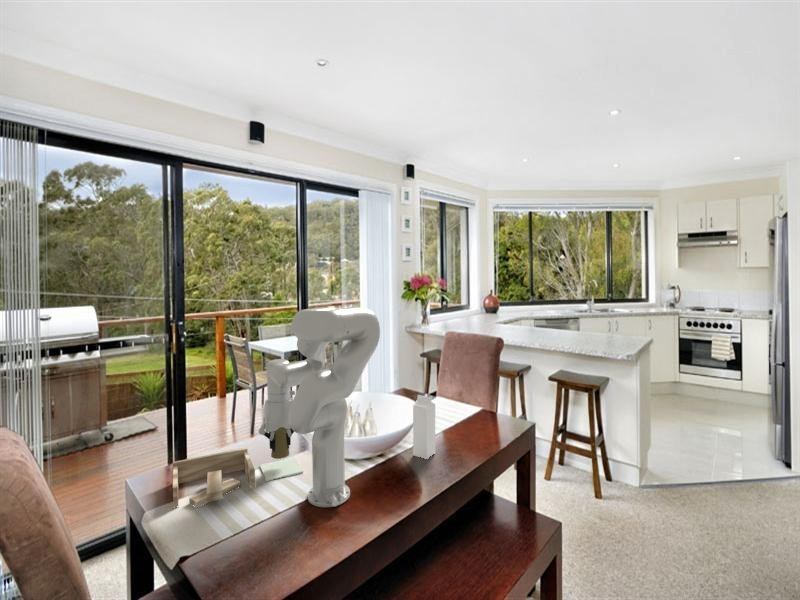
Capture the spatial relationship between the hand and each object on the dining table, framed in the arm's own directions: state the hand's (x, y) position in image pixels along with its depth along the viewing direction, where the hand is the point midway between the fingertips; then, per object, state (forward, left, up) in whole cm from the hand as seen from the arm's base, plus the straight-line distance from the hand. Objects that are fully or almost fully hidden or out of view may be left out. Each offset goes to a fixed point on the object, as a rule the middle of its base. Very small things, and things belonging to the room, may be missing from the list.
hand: (280, 448), depth 140 cm
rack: (-1, +21, -7) cm, 22 cm away
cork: (0, 0, -2) cm, 2 cm away
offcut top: (-7, +21, -6) cm, 23 cm away
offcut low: (-7, +21, -8) cm, 24 cm away
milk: (-14, -49, -8) cm, 52 cm away
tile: (0, 0, -7) cm, 7 cm away
